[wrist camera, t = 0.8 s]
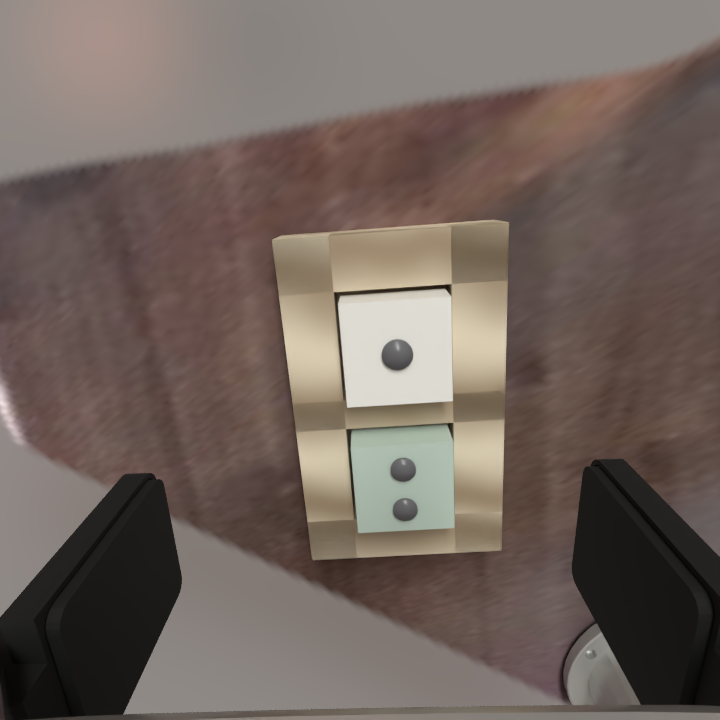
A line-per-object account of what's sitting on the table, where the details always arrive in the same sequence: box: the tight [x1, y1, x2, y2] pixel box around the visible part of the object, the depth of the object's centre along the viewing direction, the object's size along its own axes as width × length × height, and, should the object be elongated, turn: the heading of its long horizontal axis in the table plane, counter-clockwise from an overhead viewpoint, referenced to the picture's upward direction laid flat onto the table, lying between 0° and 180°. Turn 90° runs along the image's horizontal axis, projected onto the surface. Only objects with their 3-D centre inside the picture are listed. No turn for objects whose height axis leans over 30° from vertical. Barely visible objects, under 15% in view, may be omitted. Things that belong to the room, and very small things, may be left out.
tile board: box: [272, 220, 509, 560], centre depth 29 cm, size 20×12×3 cm, turn 4°
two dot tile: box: [351, 424, 455, 533], centre depth 28 cm, size 6×6×2 cm
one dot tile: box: [338, 288, 453, 408], centre depth 26 cm, size 6×6×2 cm
